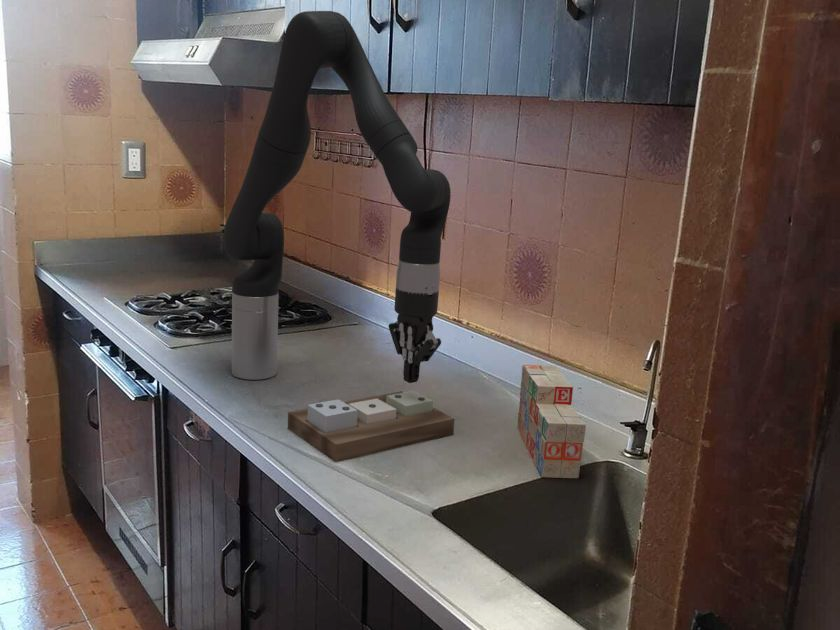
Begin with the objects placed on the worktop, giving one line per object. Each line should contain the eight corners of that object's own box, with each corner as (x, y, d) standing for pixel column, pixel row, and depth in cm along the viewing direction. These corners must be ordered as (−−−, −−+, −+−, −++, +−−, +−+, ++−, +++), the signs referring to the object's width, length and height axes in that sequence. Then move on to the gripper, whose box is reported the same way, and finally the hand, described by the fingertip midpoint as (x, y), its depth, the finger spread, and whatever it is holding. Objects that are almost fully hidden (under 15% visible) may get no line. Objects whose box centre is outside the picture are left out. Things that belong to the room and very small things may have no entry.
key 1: (347, 421, 141) (348, 402, 140) (376, 415, 145) (377, 397, 144) (366, 432, 136) (367, 413, 136) (395, 426, 140) (396, 408, 139)
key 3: (307, 422, 136) (307, 403, 135) (338, 416, 140) (338, 398, 139) (325, 434, 131) (326, 415, 131) (356, 428, 135) (357, 409, 134)
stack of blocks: (579, 479, 127) (588, 406, 124) (540, 478, 127) (548, 404, 124) (550, 428, 148) (556, 364, 145) (516, 427, 147) (522, 363, 144)
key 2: (385, 412, 146) (386, 394, 145) (412, 407, 149) (413, 389, 148) (404, 423, 141) (406, 405, 140) (432, 417, 145) (433, 399, 144)
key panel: (287, 428, 140) (288, 412, 139) (400, 406, 154) (401, 391, 153) (335, 462, 128) (336, 444, 127) (453, 434, 142) (454, 418, 141)
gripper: (378, 280, 143) (372, 373, 147) (423, 296, 132) (416, 396, 137) (412, 277, 147) (405, 367, 151) (458, 293, 137) (450, 389, 141)
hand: (410, 381), depth 144 cm, fingers closed
